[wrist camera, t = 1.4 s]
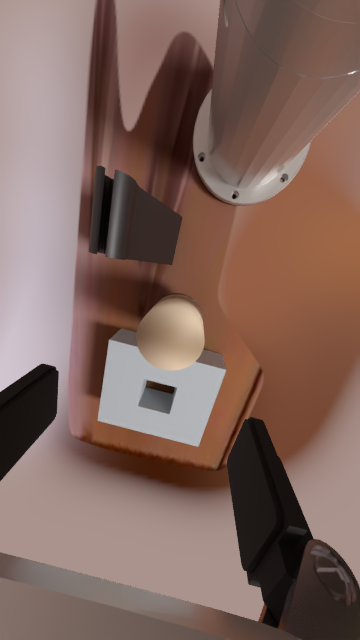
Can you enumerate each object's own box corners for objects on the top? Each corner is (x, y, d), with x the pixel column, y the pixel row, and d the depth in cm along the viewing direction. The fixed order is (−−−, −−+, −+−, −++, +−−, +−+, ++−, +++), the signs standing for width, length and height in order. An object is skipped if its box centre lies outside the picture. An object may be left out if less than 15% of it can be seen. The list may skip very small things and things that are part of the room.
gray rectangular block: (121, 328, 30) (109, 339, 26) (222, 354, 30) (226, 369, 26) (109, 400, 35) (97, 420, 30) (197, 423, 35) (198, 446, 30)
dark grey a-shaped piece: (108, 248, 27) (44, 241, 16) (114, 200, 25) (46, 151, 14) (172, 265, 27) (154, 269, 16) (182, 217, 25) (171, 183, 14)
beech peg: (162, 283, 28) (142, 298, 17) (207, 294, 28) (213, 316, 17) (153, 325, 30) (130, 361, 19) (195, 336, 30) (194, 378, 19)
